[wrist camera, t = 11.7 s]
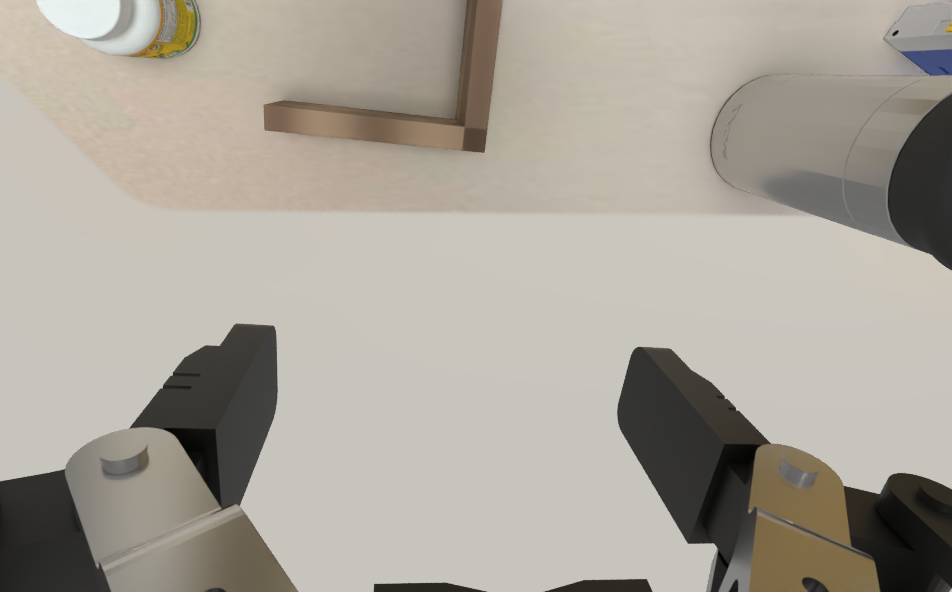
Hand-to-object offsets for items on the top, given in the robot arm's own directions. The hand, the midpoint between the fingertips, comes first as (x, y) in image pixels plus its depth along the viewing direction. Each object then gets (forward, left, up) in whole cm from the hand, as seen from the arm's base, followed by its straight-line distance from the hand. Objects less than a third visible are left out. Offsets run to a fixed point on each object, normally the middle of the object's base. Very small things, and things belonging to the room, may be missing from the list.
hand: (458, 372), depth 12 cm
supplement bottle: (+18, -8, -32) cm, 37 cm away
